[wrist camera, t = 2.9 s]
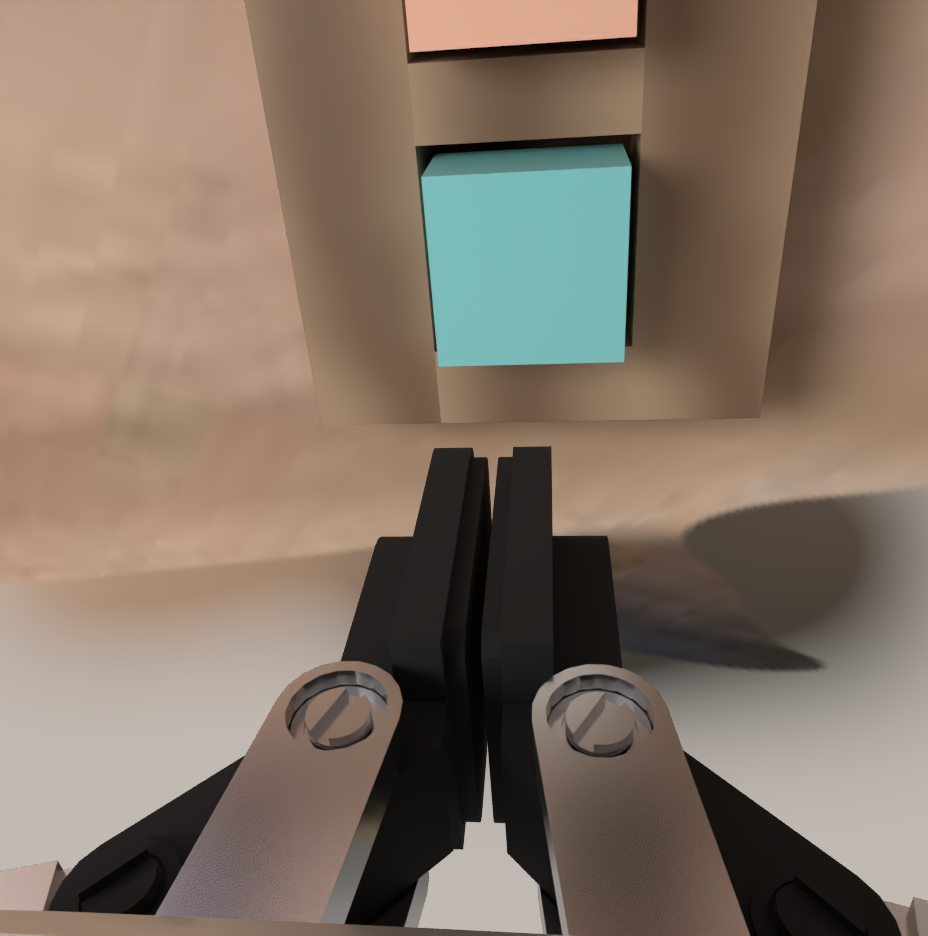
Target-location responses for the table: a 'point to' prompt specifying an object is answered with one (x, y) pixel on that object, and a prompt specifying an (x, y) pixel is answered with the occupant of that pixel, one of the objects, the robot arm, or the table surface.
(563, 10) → the terracotta button
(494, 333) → the teal button
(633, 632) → the table surface
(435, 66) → the console
